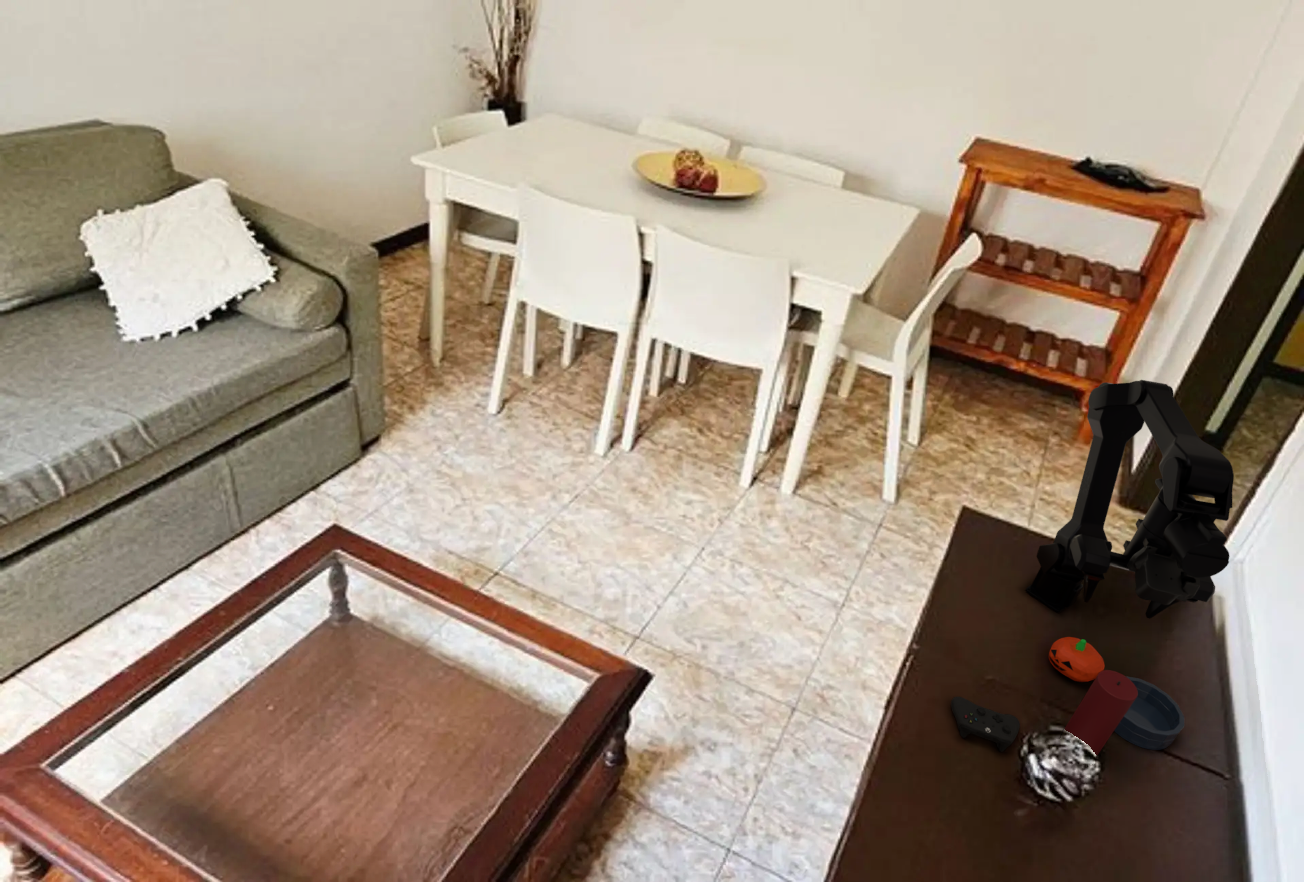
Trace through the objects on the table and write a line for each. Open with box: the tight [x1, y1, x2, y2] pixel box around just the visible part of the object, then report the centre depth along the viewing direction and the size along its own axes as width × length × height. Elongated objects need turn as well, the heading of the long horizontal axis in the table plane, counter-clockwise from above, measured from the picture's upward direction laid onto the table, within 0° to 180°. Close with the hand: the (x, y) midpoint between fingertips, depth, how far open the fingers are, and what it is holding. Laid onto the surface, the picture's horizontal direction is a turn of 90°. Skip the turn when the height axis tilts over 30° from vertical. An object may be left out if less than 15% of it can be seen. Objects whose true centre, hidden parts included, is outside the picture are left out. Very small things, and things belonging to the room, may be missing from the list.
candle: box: [1063, 669, 1138, 756], centre depth 121 cm, size 5×5×14 cm
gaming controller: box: [950, 696, 1021, 753], centre depth 124 cm, size 10×5×6 cm
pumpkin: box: [1048, 636, 1105, 683], centre depth 136 cm, size 7×8×6 cm
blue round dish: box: [1113, 675, 1185, 751], centre depth 130 cm, size 11×11×4 cm
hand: (1115, 608), depth 131 cm, fingers open, 9 cm apart
